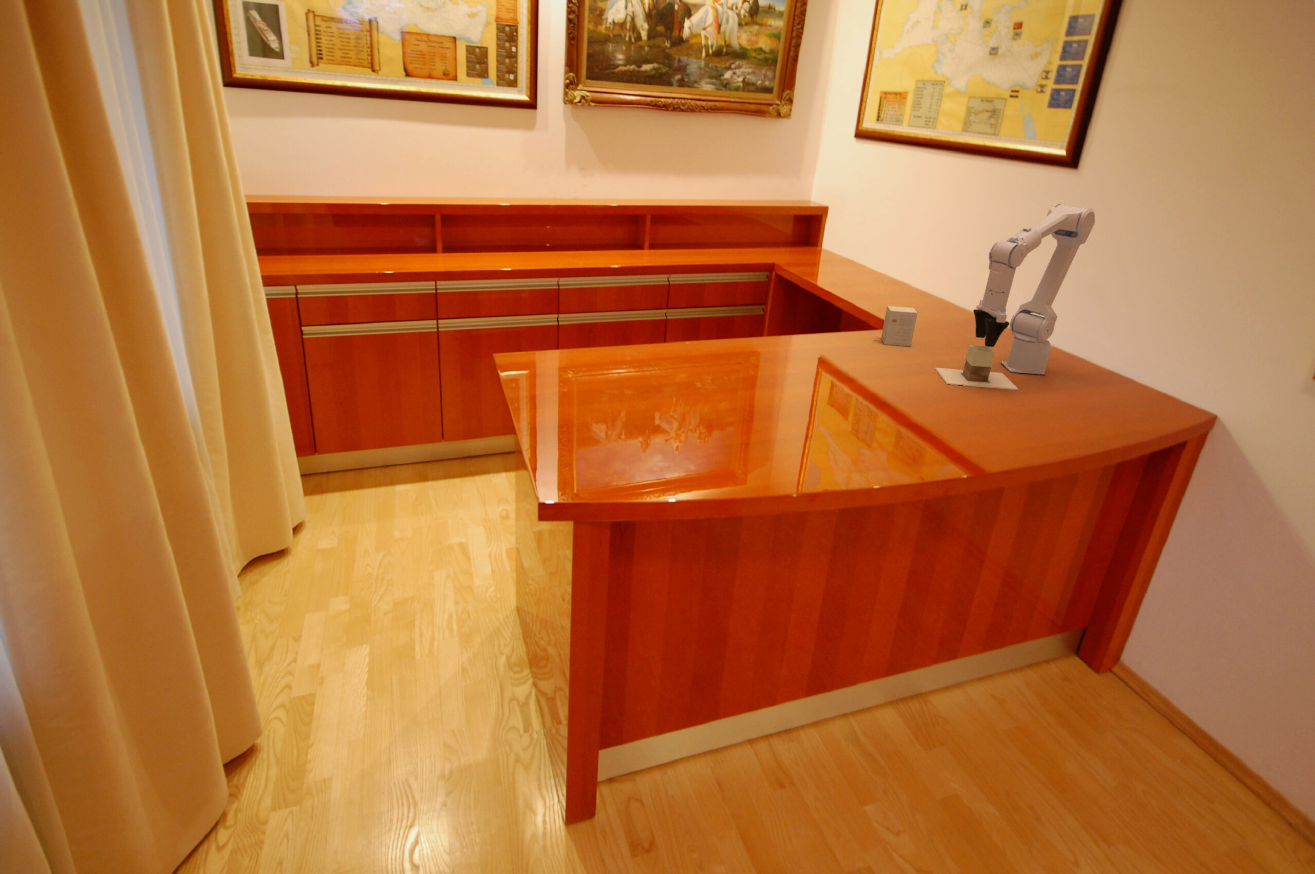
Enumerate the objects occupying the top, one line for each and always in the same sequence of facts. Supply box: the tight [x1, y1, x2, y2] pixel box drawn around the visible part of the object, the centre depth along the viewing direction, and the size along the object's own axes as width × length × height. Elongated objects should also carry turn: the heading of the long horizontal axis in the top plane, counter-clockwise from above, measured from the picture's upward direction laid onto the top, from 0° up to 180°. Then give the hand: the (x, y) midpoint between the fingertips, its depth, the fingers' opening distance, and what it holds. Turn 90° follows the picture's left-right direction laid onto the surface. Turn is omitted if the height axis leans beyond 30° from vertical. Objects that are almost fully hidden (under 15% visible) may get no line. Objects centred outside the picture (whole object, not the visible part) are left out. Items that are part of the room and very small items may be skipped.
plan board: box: [934, 367, 1019, 391], centre depth 198 cm, size 18×12×1 cm, turn 86°
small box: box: [880, 305, 918, 347], centre depth 222 cm, size 8×6×10 cm
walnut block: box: [962, 359, 992, 382], centre depth 197 cm, size 5×5×4 cm
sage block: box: [965, 344, 995, 368], centre depth 195 cm, size 5×5×4 cm
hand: (984, 341), depth 193 cm, fingers open, 7 cm apart
